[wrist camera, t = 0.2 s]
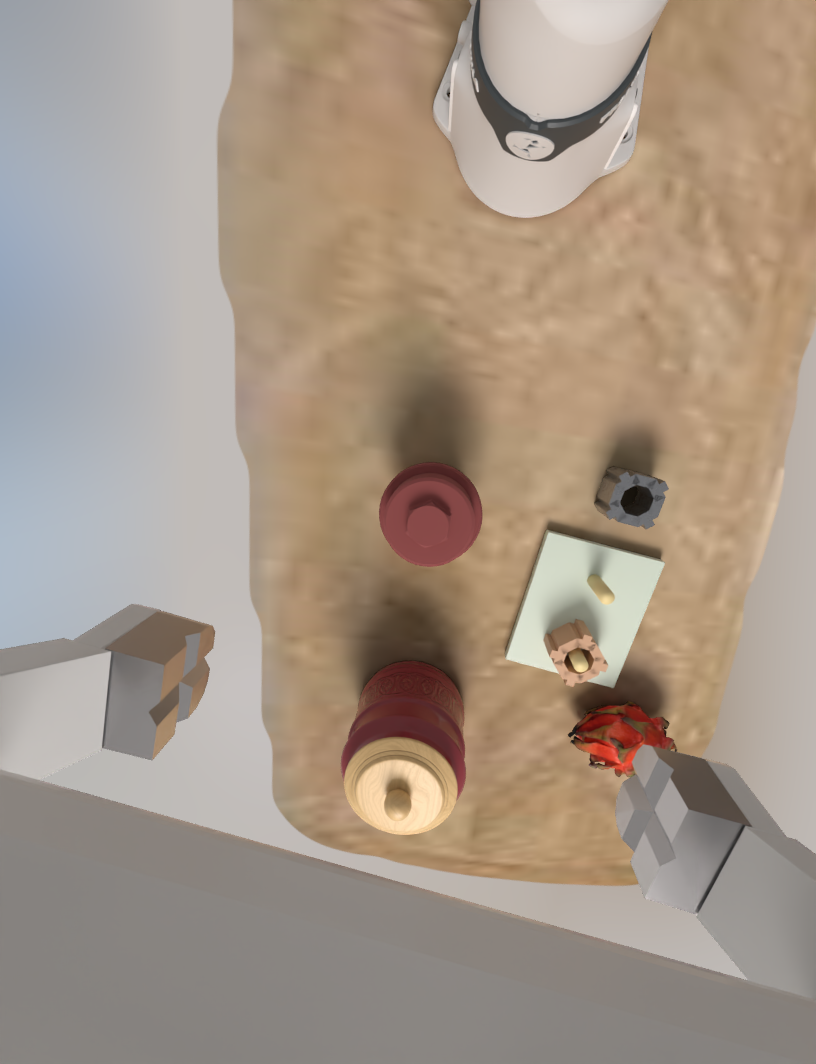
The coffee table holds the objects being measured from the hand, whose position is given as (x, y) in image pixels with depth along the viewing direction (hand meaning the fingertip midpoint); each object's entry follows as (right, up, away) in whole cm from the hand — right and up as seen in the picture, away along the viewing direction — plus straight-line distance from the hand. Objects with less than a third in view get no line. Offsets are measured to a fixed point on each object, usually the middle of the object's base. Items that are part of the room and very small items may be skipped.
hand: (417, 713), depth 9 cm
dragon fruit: (+25, -20, +52) cm, 61 cm away
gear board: (+20, -5, +49) cm, 53 cm away
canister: (0, -18, +54) cm, 57 cm away
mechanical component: (+3, +7, +47) cm, 48 cm away
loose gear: (+23, +8, +45) cm, 51 cm away
